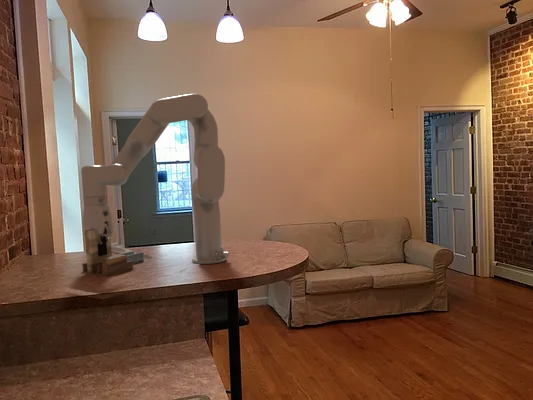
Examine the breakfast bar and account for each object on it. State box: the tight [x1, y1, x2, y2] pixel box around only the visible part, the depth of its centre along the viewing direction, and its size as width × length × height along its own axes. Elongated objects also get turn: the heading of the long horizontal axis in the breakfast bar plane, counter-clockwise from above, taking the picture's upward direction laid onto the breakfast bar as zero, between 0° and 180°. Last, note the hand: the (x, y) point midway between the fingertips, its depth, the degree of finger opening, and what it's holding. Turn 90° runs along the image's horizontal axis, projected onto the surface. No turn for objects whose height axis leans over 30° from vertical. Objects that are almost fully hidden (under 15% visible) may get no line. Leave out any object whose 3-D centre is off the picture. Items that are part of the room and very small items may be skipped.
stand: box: [112, 250, 150, 266], centre depth 169 cm, size 9×11×4 cm
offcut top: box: [102, 254, 127, 267], centre depth 155 cm, size 4×7×2 cm, turn 147°
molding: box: [111, 242, 153, 260], centre depth 193 cm, size 42×12×3 cm, turn 35°
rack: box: [81, 261, 135, 277], centre depth 157 cm, size 15×11×4 cm
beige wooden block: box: [84, 230, 113, 272], centre depth 159 cm, size 3×8×14 cm, turn 147°
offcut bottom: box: [102, 266, 107, 274], centre depth 155 cm, size 4×8×2 cm, turn 147°
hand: (99, 254), depth 159 cm, fingers open, 3 cm apart
